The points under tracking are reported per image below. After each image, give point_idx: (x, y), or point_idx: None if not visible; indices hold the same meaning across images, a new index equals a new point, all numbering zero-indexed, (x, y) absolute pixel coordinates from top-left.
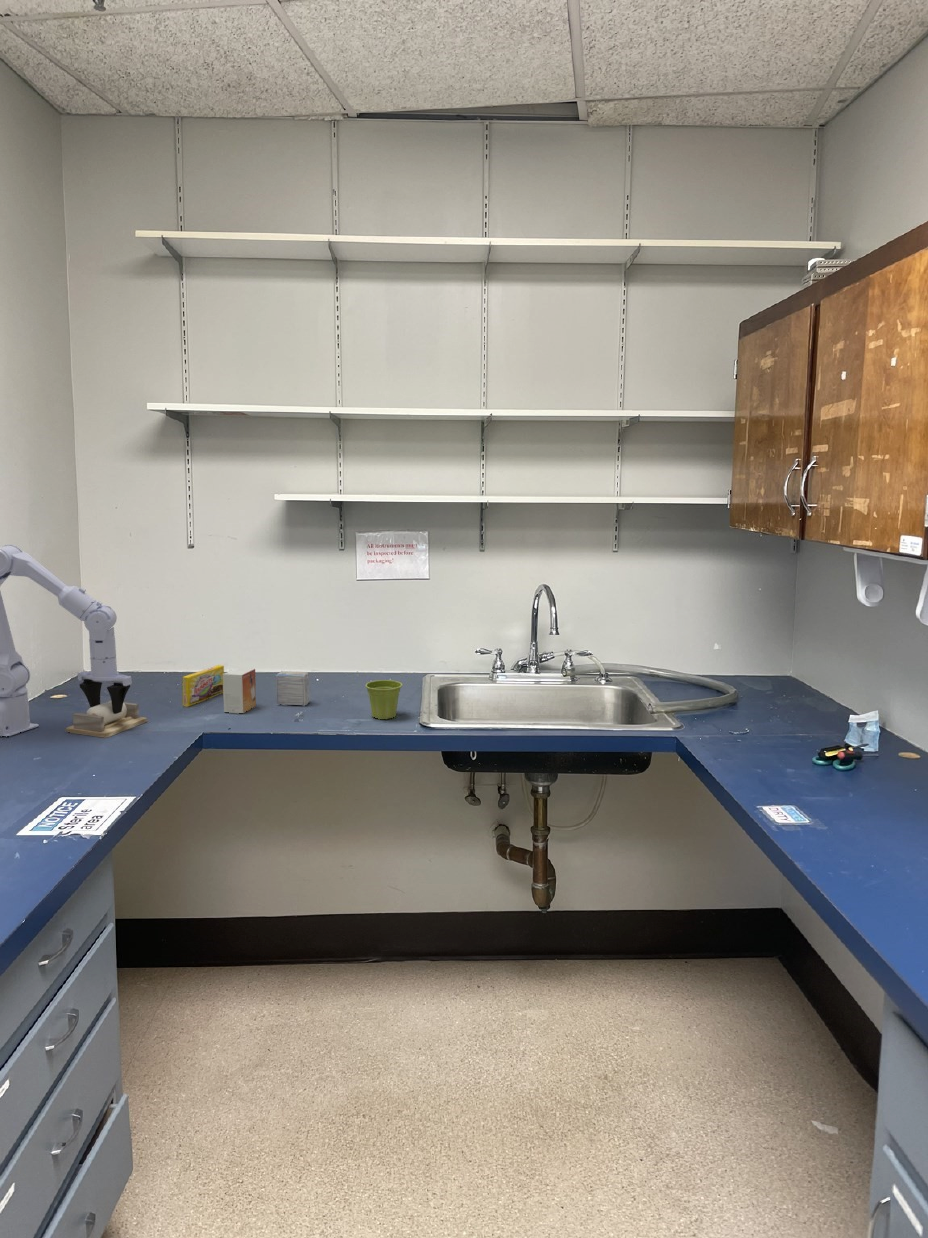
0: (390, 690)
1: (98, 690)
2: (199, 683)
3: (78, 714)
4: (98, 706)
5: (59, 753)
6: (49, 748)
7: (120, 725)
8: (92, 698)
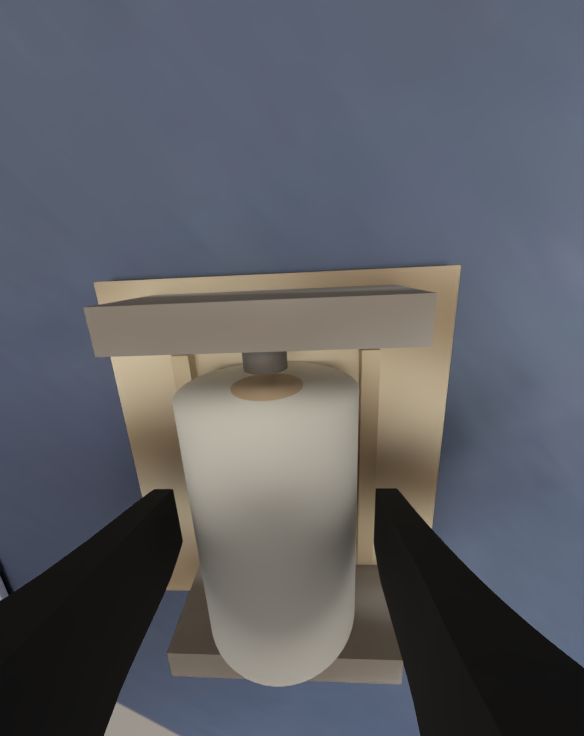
0: None
1: (39, 675)
2: None
3: (208, 670)
4: (287, 659)
5: (375, 728)
6: (295, 706)
7: (398, 471)
8: (120, 654)
